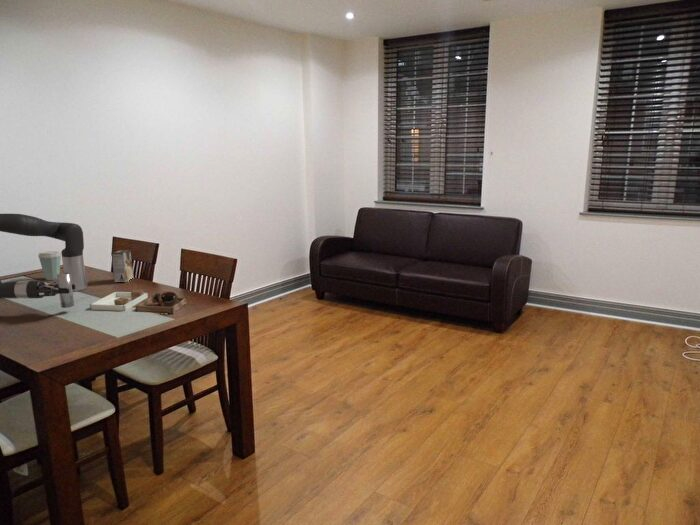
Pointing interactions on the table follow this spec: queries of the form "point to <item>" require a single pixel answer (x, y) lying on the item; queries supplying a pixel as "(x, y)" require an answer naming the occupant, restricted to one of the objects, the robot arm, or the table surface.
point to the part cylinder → (65, 282)
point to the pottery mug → (166, 299)
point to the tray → (108, 301)
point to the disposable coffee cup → (50, 264)
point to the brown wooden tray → (144, 307)
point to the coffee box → (122, 265)
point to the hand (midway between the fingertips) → (71, 288)
